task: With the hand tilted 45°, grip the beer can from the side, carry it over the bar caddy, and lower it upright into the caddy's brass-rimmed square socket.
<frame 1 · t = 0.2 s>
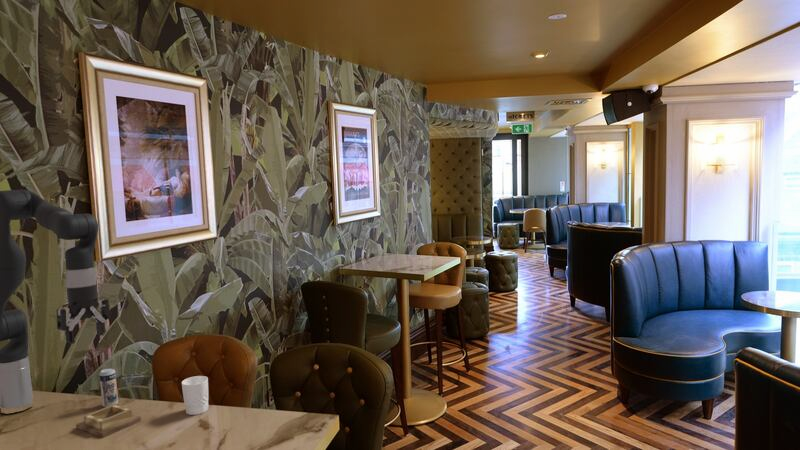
hand: (86, 339, 159), 29 cm above the table, tool pointing down, fingers open, 8 cm apart
caddy: (109, 424, 168), on the table
beer can: (110, 405, 183), on the table
white cup: (197, 411, 176), on the table
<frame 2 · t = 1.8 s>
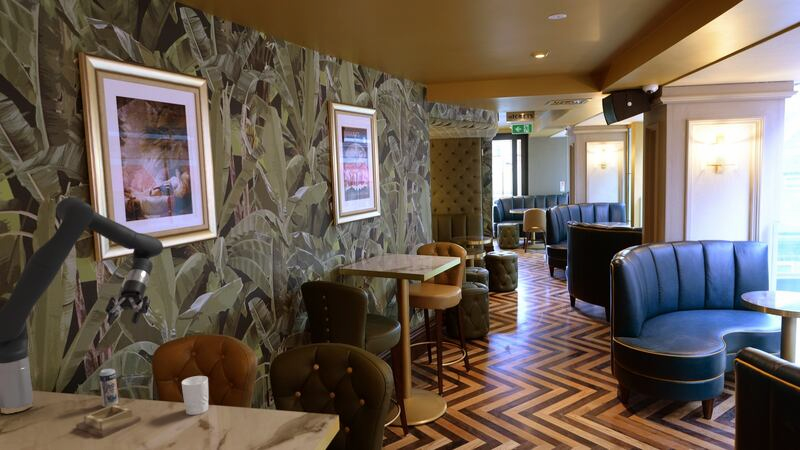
hand: (121, 323, 192), 25 cm above the table, tool tilted 45°, fingers open, 8 cm apart
nothing on the table moved.
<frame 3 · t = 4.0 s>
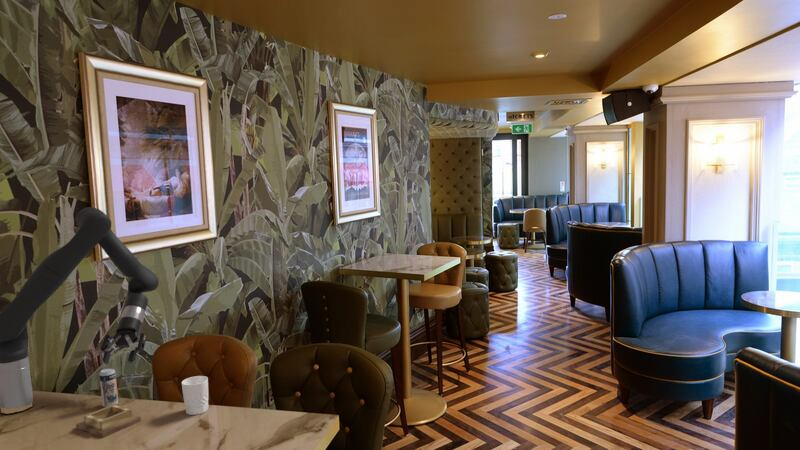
hand: (117, 362, 189), 12 cm above the table, tool tilted 45°, fingers open, 8 cm apart
nothing on the table moved.
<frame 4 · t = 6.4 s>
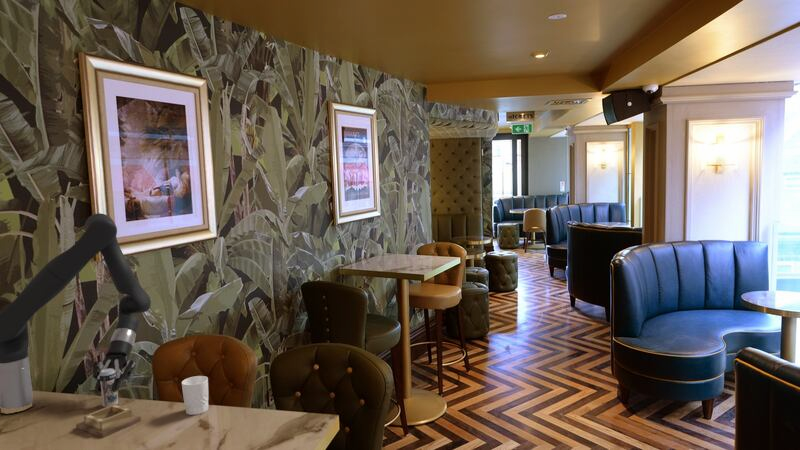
hand: (106, 391, 181), 6 cm above the table, tool tilted 45°, fingers closed on beer can, 4 cm apart
beer can: (110, 405, 183), on the table, touching gripper
everything else where it was.
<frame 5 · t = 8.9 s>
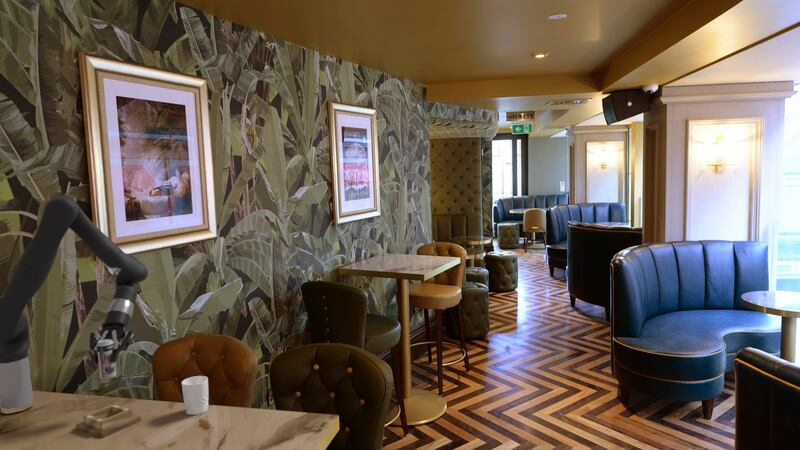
hand: (103, 362, 174), 17 cm above the table, tool tilted 45°, fingers closed on beer can, 4 cm apart
beer can: (108, 377, 176), point 12 cm above the table, touching gripper
everything else where it was.
when the fingers open (8 cm above the table, at t = 11.6 s): beer can drops 1 cm, resting on caddy.
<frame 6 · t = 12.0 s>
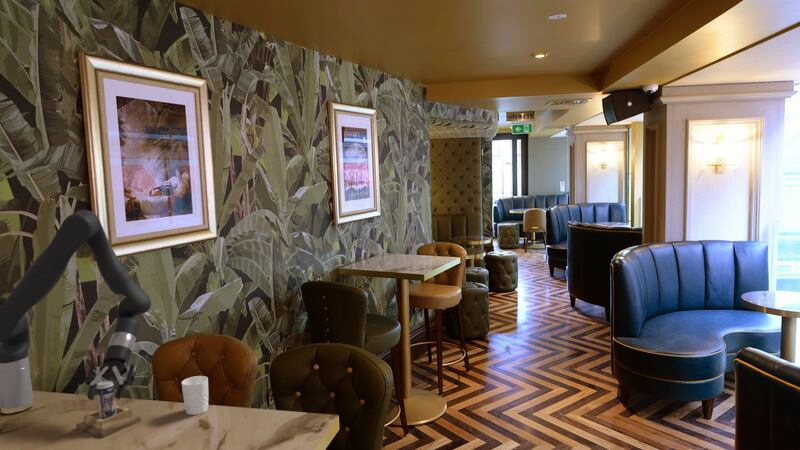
hand: (103, 398, 166), 9 cm above the table, tool tilted 45°, fingers open, 8 cm apart
beer can: (108, 420, 169), point 1 cm above the table, touching caddy
everything else where it was.
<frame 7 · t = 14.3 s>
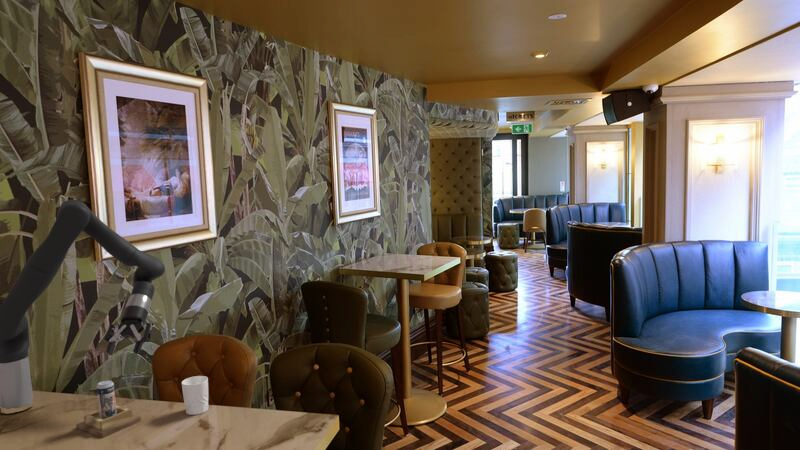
hand: (122, 353, 178), 19 cm above the table, tool tilted 45°, fingers open, 8 cm apart
nothing on the table moved.
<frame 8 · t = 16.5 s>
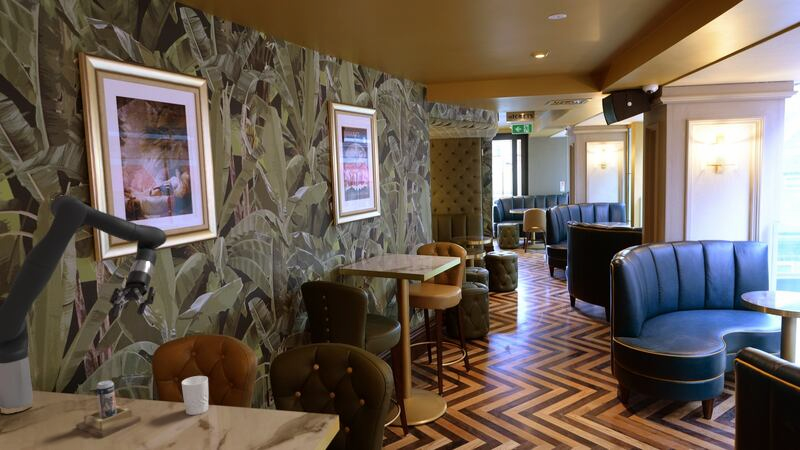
hand: (126, 314, 188), 29 cm above the table, tool tilted 45°, fingers open, 8 cm apart
nothing on the table moved.
at the end: beer can 0.2 cm off-centre on the caddy, point 1.0 cm above the caddy's base; beer can tilted 0°; the gripper is holding nothing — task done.
